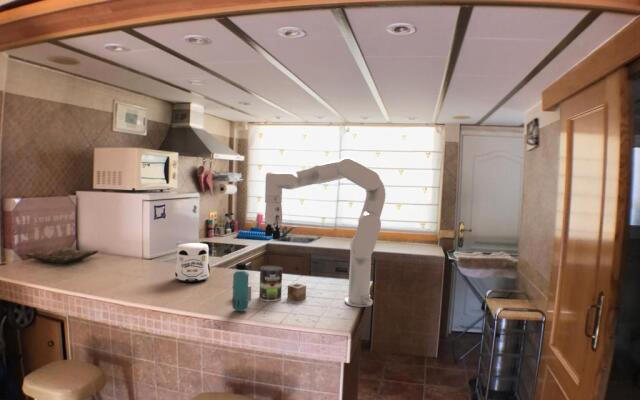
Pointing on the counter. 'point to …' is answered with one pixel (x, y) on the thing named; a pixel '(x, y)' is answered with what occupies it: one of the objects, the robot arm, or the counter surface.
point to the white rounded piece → (192, 262)
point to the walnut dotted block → (296, 292)
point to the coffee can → (270, 283)
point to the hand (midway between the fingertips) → (272, 237)
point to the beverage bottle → (240, 288)
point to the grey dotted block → (249, 291)
